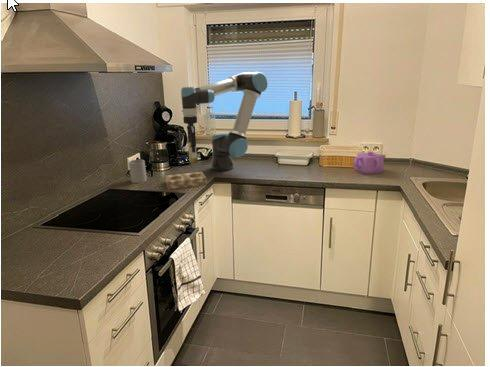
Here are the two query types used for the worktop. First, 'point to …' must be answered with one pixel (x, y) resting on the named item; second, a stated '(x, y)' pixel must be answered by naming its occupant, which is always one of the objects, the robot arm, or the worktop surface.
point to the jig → (185, 180)
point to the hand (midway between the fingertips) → (193, 156)
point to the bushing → (192, 160)
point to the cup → (137, 171)
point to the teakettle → (369, 163)
